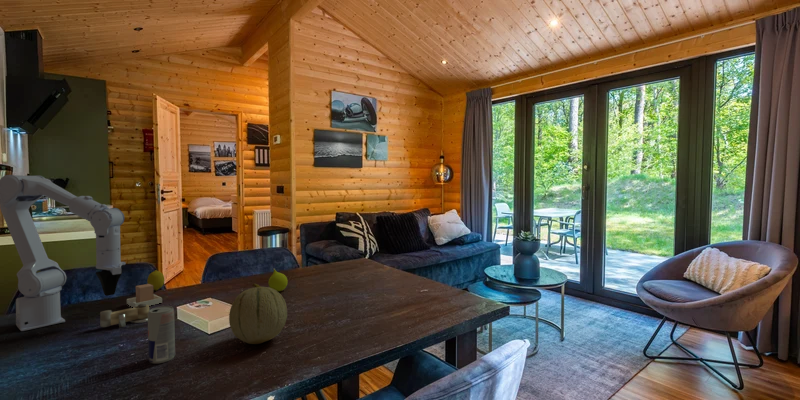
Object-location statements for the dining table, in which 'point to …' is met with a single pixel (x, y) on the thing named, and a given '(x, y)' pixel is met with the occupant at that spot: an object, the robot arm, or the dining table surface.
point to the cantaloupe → (257, 314)
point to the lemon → (156, 279)
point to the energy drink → (161, 334)
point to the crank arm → (131, 314)
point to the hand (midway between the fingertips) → (109, 294)
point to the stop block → (144, 293)
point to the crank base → (123, 321)
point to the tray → (133, 303)
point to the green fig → (278, 281)
